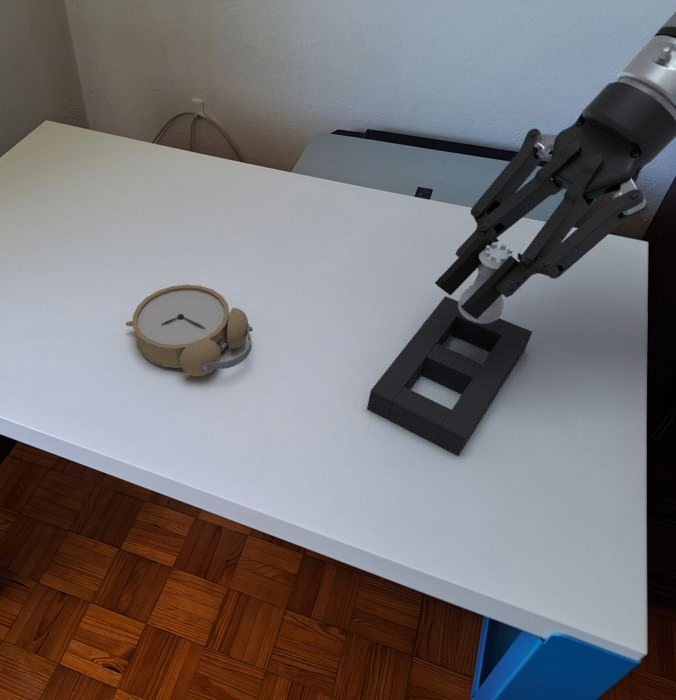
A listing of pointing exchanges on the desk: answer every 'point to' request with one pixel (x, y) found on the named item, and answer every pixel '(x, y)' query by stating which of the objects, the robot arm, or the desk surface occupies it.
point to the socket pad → (448, 376)
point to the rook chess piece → (490, 263)
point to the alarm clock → (189, 329)
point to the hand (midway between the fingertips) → (455, 300)
